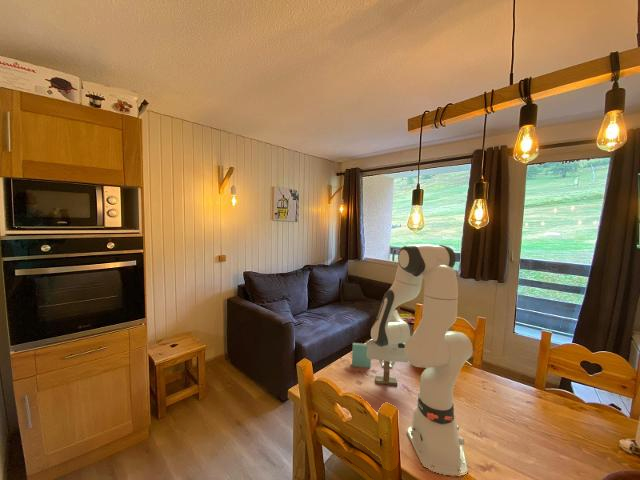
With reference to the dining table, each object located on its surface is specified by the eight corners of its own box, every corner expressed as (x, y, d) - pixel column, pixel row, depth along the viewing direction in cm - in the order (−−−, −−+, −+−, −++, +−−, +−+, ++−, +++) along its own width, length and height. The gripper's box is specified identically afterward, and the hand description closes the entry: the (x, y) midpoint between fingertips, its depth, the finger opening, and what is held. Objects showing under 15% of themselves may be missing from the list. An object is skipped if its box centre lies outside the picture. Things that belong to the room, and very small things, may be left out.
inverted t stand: (397, 385, 127) (398, 364, 126) (376, 383, 128) (376, 362, 128) (396, 380, 131) (396, 360, 130) (375, 378, 132) (376, 358, 132)
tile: (370, 367, 142) (371, 346, 141) (351, 365, 144) (352, 344, 143) (370, 365, 145) (371, 344, 144) (352, 363, 146) (352, 342, 145)
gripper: (366, 341, 127) (365, 369, 127) (410, 345, 124) (409, 374, 125) (366, 336, 133) (365, 362, 134) (408, 339, 130) (406, 366, 131)
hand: (386, 368), depth 129 cm, fingers closed on inverted t stand, 2 cm apart
